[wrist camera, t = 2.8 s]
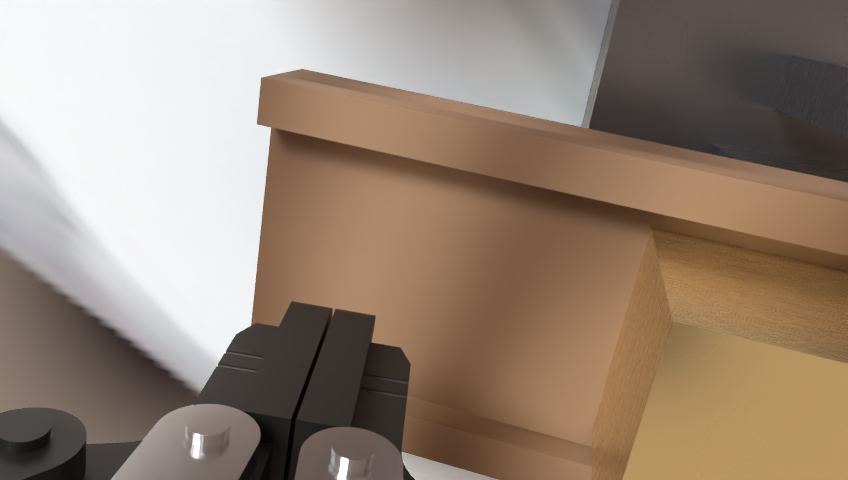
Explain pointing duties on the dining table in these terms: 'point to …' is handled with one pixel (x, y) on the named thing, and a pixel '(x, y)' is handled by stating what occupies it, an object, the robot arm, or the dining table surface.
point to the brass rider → (726, 368)
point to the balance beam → (497, 251)
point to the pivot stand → (729, 80)
